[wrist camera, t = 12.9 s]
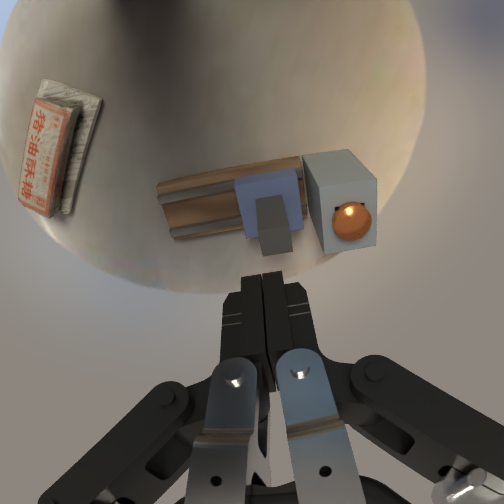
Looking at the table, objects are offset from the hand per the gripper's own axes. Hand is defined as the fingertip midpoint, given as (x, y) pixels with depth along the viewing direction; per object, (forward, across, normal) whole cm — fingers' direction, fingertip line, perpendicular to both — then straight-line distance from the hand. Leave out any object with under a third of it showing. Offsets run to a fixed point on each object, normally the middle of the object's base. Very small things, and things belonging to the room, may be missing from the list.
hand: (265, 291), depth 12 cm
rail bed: (+29, +4, +9) cm, 31 cm away
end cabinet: (+29, -8, +9) cm, 31 cm away
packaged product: (+30, +26, -4) cm, 40 cm away
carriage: (+26, -1, +9) cm, 28 cm away
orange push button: (+24, -8, +9) cm, 27 cm away
